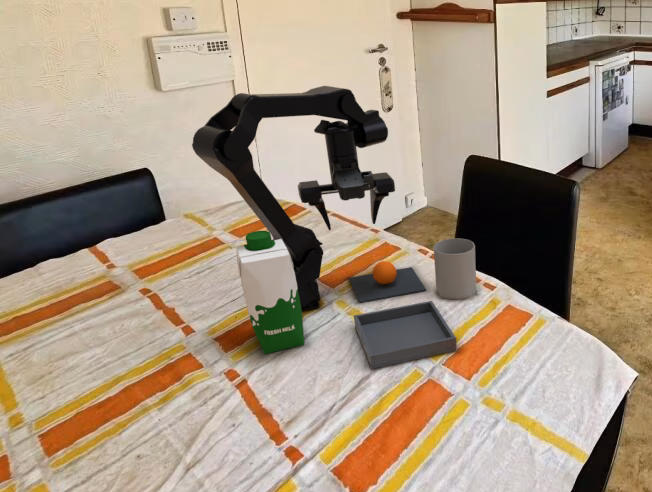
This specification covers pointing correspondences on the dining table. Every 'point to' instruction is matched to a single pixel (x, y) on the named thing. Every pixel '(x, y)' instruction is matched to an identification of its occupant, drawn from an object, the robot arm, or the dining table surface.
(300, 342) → the milk carton
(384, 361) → the shallow grey tray
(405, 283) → the mat
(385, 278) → the ball
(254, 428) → the dining table surface
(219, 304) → the dining table surface
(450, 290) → the cup
